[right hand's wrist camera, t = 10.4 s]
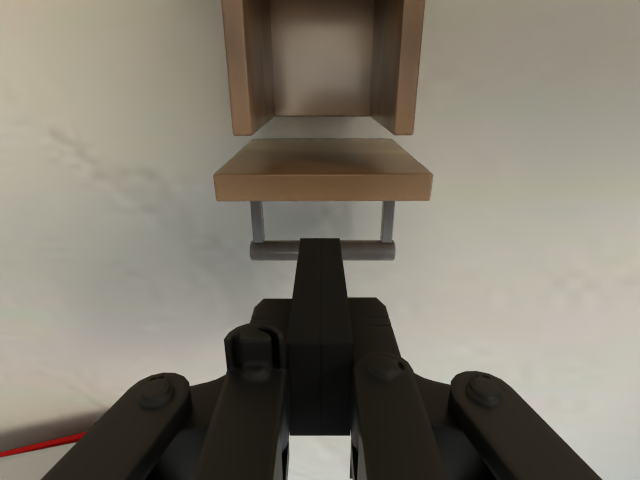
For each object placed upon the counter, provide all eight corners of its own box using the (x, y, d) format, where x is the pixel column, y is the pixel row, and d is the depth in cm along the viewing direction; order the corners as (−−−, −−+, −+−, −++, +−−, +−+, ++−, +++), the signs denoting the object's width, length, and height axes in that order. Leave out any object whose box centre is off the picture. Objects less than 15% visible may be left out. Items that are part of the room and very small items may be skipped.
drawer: (385, 229, 28) (418, 304, 18) (258, 229, 28) (227, 304, 18) (413, -164, 19) (497, -383, 10) (230, -163, 19) (149, -381, 10)
